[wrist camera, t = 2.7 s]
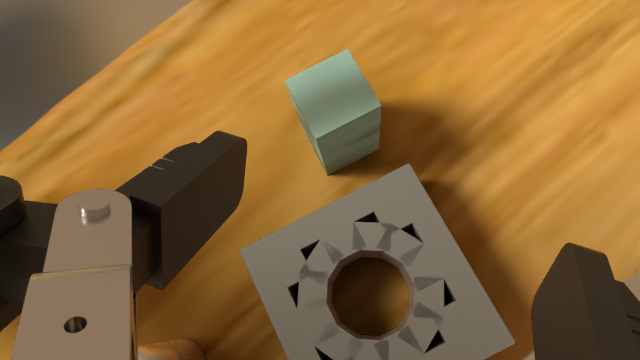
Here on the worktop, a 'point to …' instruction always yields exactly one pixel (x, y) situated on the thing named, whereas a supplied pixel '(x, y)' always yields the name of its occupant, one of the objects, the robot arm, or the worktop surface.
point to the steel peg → (170, 351)
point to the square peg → (337, 111)
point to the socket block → (395, 248)
